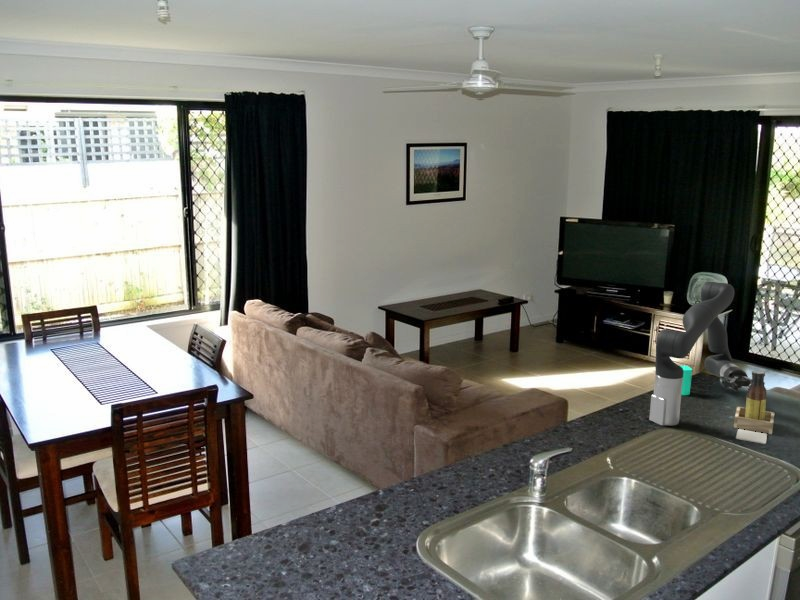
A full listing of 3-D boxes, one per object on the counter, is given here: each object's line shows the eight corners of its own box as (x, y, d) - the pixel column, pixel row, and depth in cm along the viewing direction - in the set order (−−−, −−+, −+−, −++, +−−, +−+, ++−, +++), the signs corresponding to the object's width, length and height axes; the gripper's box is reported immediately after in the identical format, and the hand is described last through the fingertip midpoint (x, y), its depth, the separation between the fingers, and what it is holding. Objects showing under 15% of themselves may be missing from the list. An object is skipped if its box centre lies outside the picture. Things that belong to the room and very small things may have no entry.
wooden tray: (771, 434, 243) (773, 423, 242) (733, 427, 249) (734, 416, 248) (773, 423, 253) (774, 412, 253) (736, 416, 259) (737, 406, 258)
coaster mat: (765, 444, 235) (765, 443, 235) (735, 438, 239) (736, 437, 239) (766, 435, 243) (767, 433, 243) (738, 429, 247) (738, 428, 247)
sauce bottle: (759, 422, 254) (766, 369, 250) (766, 429, 248) (773, 374, 244) (740, 421, 255) (746, 368, 250) (747, 428, 248) (753, 373, 244)
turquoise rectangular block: (676, 389, 289) (678, 361, 286) (691, 392, 285) (694, 363, 283) (672, 393, 284) (674, 364, 282) (687, 396, 281) (690, 367, 278)
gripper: (714, 365, 272) (729, 378, 256) (753, 366, 270) (771, 380, 254) (712, 384, 273) (727, 398, 257) (751, 385, 272) (768, 400, 256)
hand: (749, 389), depth 256 cm, fingers open, 8 cm apart
